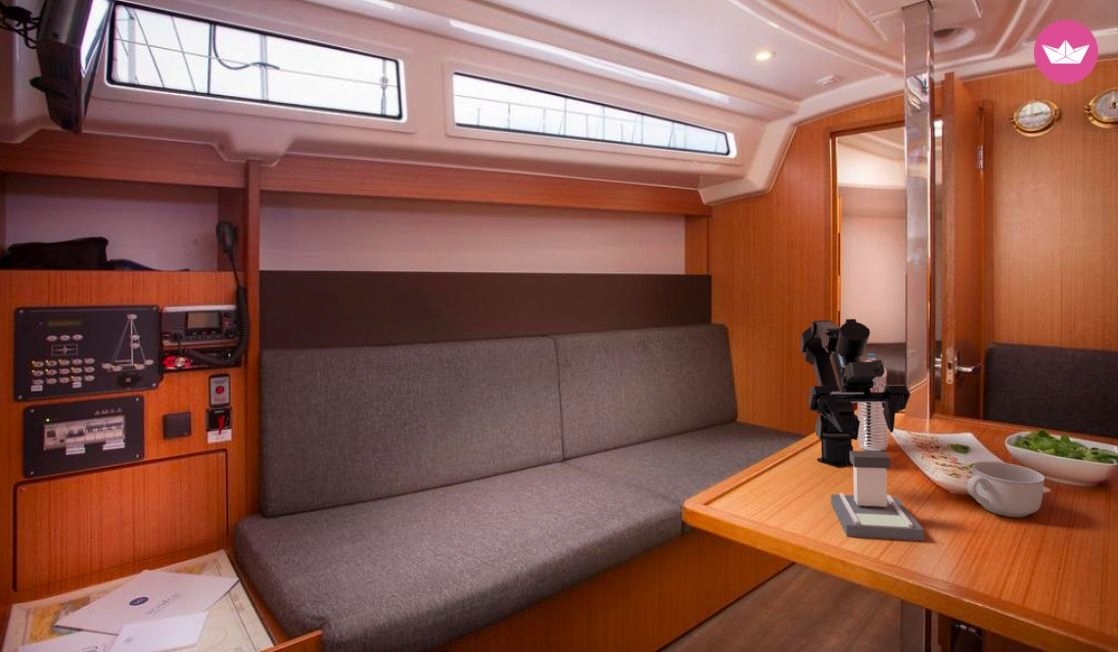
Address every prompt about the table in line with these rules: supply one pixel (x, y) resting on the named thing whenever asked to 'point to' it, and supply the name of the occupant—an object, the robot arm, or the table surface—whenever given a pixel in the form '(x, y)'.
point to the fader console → (876, 519)
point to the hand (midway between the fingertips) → (866, 431)
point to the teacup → (1006, 488)
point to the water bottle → (873, 418)
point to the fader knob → (870, 477)
